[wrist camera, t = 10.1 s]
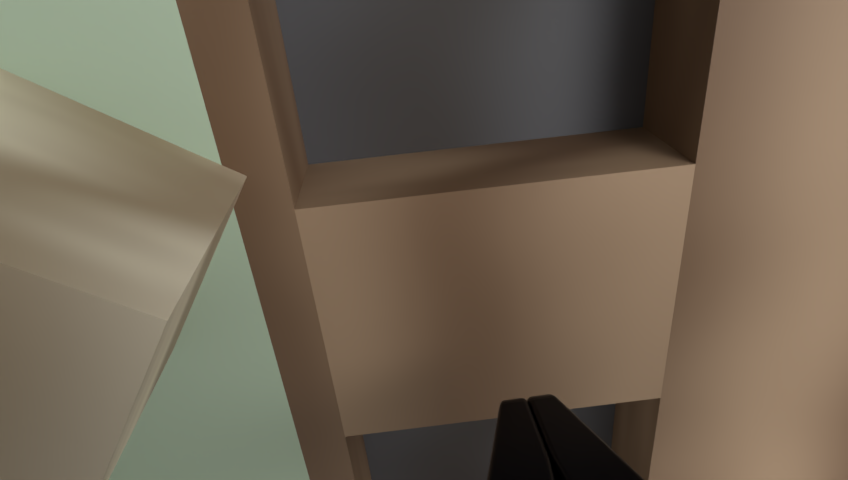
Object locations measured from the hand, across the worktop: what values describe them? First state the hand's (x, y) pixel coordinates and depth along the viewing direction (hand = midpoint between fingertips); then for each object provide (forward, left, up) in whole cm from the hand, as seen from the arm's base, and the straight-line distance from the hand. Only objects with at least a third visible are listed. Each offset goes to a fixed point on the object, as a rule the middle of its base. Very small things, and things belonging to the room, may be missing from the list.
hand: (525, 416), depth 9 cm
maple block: (+2, -7, -2) cm, 8 cm away
